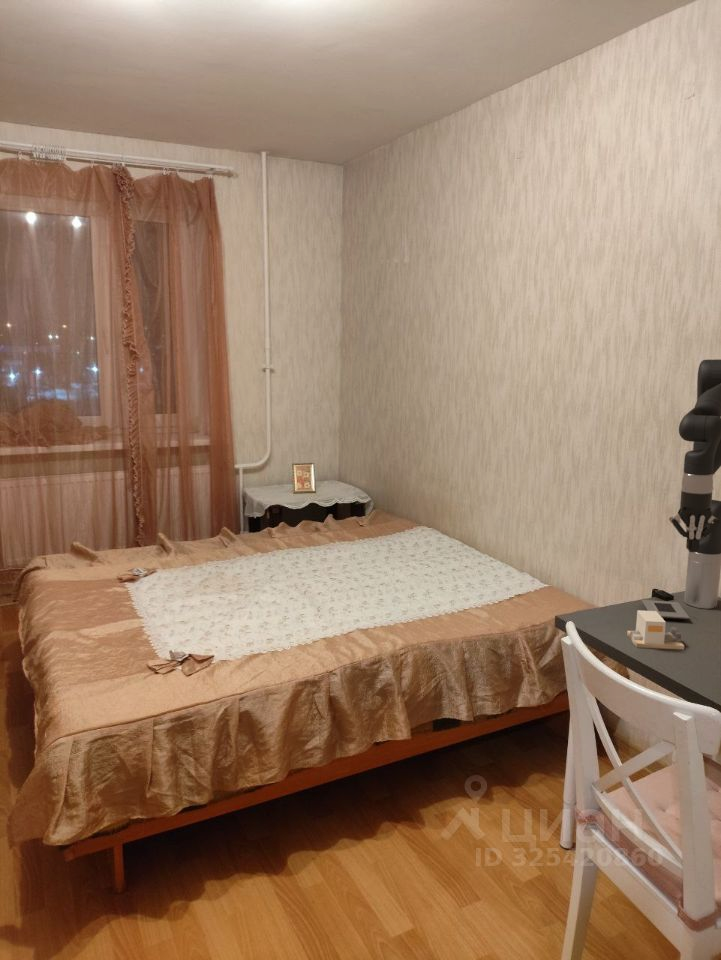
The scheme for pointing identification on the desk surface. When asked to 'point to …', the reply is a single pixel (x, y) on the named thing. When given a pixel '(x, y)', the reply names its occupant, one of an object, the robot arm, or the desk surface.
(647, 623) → the white rectangular block
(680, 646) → the rail board
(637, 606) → the desk surface
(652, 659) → the desk surface
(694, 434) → the robot arm
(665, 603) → the electrical outlet
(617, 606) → the desk surface
